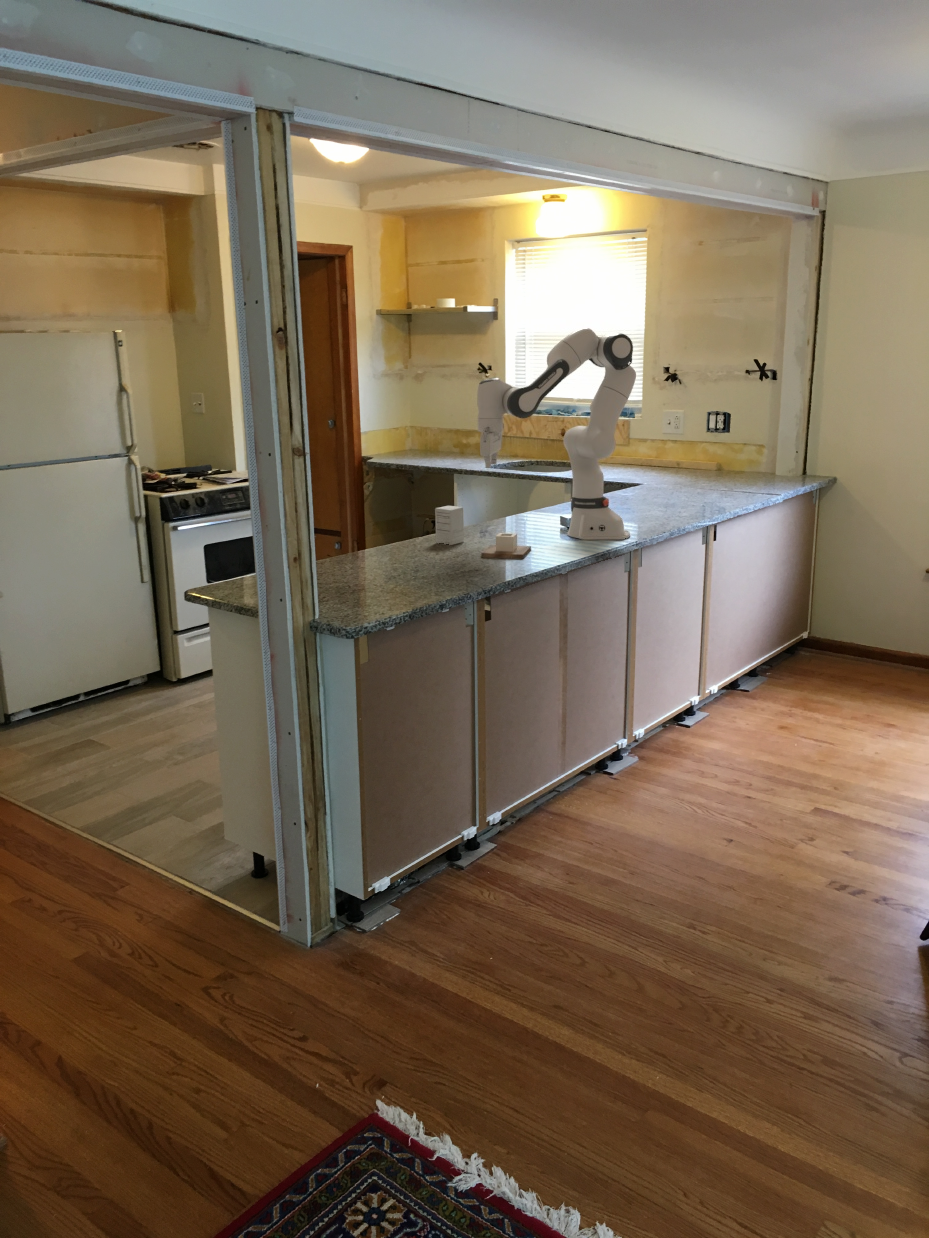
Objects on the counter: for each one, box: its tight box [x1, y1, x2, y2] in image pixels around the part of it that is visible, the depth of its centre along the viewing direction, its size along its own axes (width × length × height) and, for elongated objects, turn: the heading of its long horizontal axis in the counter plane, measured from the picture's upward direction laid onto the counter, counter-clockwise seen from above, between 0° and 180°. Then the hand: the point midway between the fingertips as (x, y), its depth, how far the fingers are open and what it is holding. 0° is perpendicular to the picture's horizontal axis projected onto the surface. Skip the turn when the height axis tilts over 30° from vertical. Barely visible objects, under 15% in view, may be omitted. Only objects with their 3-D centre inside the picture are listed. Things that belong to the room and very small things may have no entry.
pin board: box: [480, 544, 532, 560], centre depth 332 cm, size 14×14×6 cm
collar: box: [495, 532, 518, 552], centre depth 332 cm, size 6×6×5 cm
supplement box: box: [434, 505, 465, 546], centre depth 352 cm, size 7×7×13 cm
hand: (491, 466), depth 349 cm, fingers open, 8 cm apart
